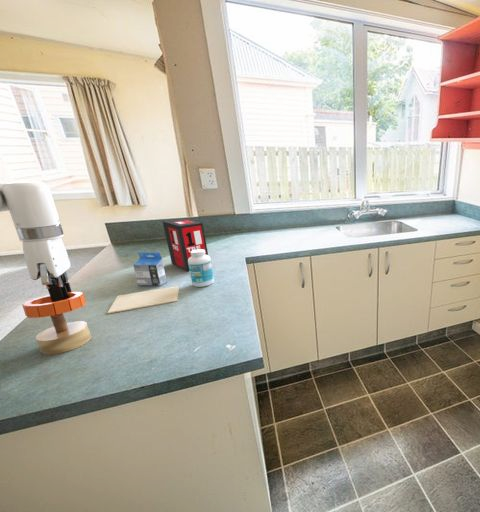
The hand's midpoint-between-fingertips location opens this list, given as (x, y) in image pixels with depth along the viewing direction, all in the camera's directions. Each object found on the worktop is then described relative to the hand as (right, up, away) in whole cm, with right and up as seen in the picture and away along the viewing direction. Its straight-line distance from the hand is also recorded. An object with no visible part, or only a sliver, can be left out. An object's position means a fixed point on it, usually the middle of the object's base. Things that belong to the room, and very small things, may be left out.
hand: (62, 298), depth 80 cm
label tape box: (-3, 0, +35) cm, 35 cm away
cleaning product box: (-2, +7, +55) cm, 56 cm away
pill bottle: (+16, 0, +36) cm, 39 cm away
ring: (+2, -2, -3) cm, 5 cm away
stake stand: (+4, -12, -2) cm, 12 cm away
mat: (+5, -3, +23) cm, 23 cm away
